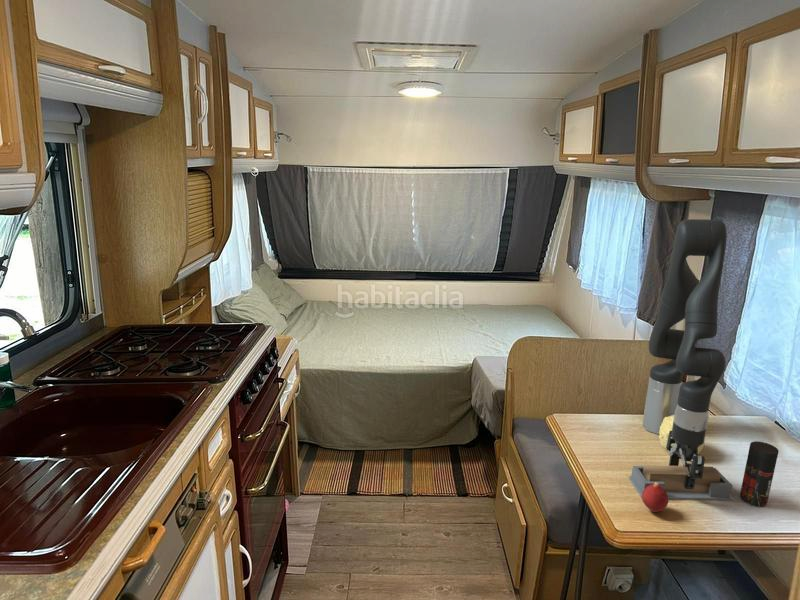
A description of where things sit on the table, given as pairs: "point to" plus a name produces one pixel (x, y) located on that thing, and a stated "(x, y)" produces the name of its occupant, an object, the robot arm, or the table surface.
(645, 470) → the slat
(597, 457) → the table surface
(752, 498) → the deodorant
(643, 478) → the endcaps
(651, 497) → the onion
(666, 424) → the sculpture
